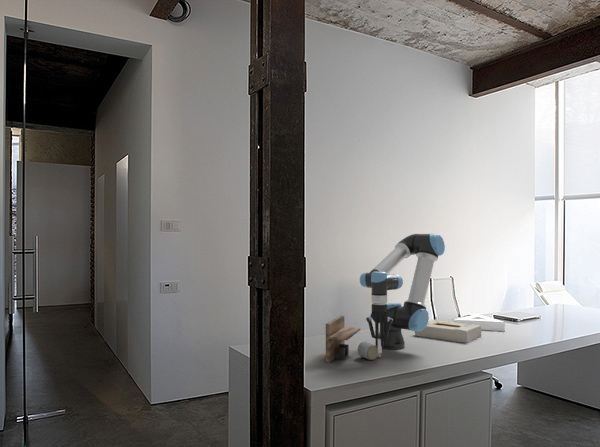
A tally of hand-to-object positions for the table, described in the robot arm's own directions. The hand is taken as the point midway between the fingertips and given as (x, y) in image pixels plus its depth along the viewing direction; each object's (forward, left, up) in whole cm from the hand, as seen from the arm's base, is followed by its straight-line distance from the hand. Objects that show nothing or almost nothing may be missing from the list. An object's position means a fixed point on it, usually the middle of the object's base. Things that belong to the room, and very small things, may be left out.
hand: (379, 352), depth 232 cm
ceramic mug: (+5, -1, -4) cm, 6 cm away
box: (-27, -69, -4) cm, 74 cm away
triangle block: (-44, -108, -4) cm, 117 cm away
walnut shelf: (+18, 0, -3) cm, 18 cm away
